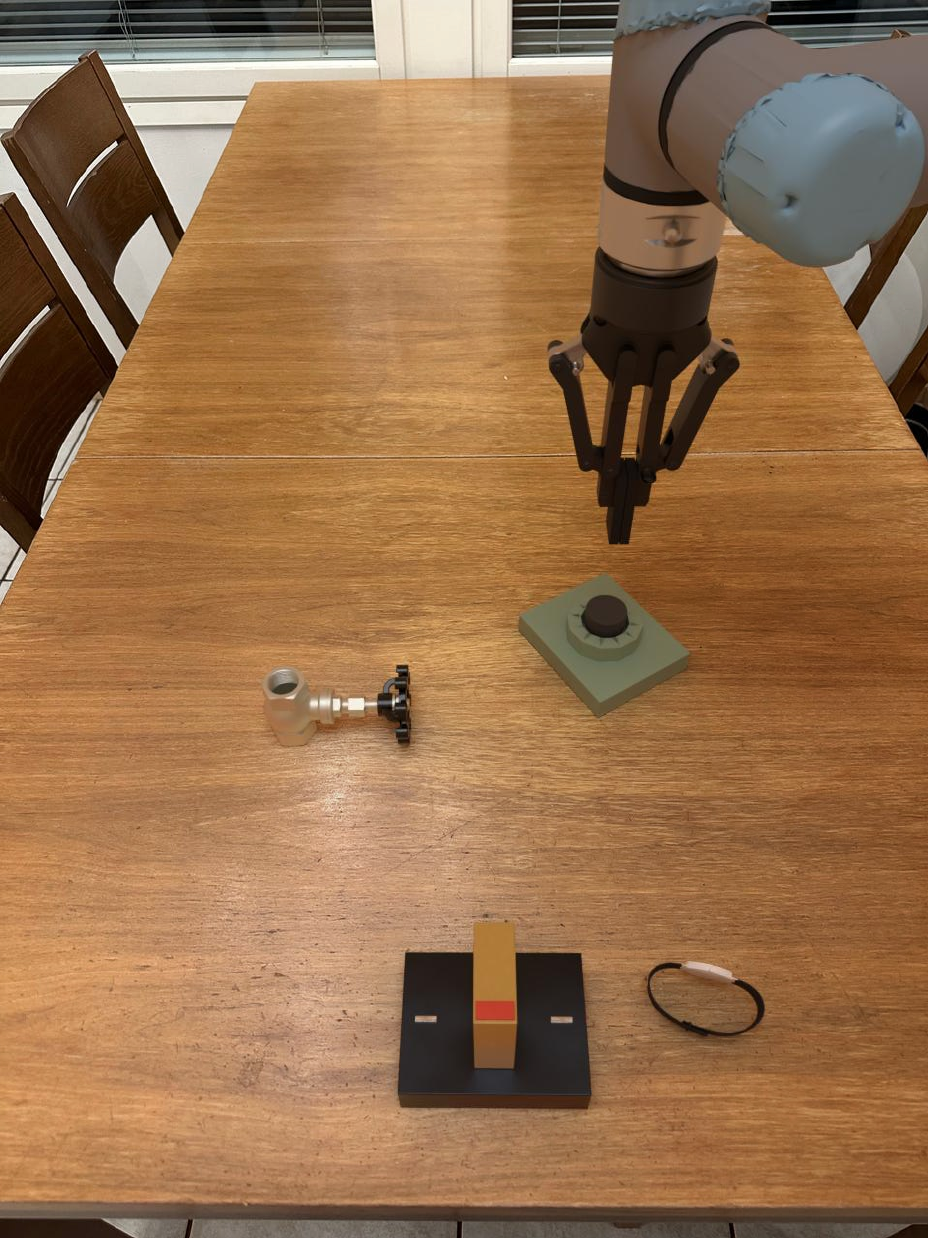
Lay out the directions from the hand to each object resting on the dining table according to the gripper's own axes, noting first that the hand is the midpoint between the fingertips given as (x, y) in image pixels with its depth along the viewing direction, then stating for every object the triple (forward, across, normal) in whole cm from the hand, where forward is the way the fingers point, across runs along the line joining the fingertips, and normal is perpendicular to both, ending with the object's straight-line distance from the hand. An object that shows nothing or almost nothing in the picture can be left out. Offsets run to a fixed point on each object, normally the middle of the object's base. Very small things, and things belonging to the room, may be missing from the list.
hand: (617, 532), depth 75 cm
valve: (+15, -23, -9) cm, 29 cm away
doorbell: (+14, 0, 0) cm, 14 cm away
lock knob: (+11, -10, -34) cm, 37 cm away
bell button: (+11, 0, 0) cm, 11 cm away
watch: (+15, +4, -32) cm, 35 cm away
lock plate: (+14, -10, -34) cm, 38 cm away
